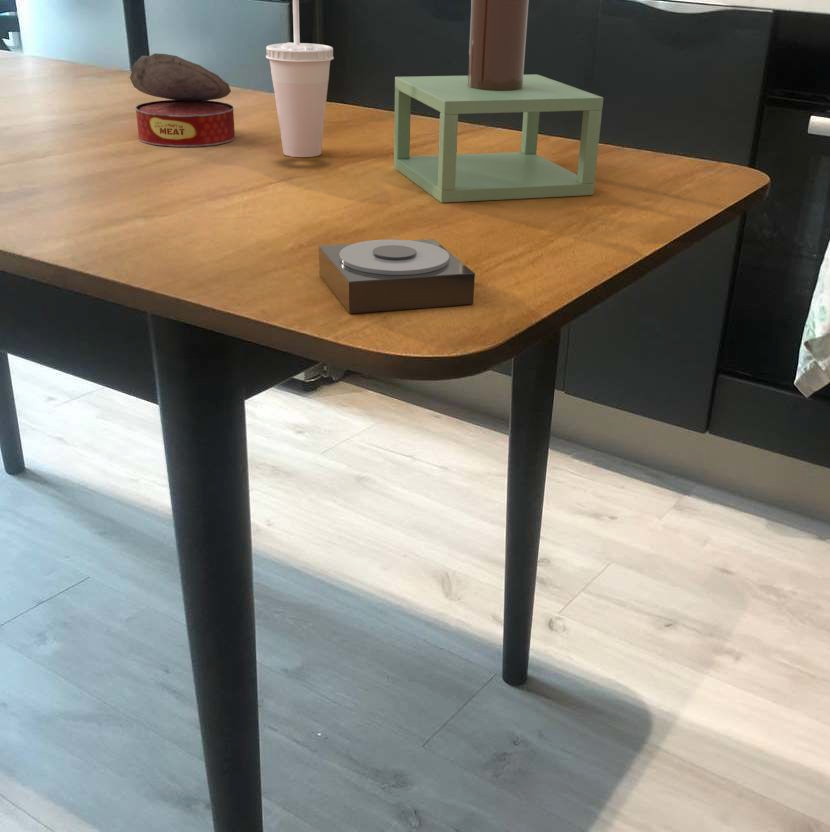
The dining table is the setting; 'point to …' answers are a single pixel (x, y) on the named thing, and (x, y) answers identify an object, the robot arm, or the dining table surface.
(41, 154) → the dining table surface
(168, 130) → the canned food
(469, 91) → the stand
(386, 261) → the stove
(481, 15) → the spice bottle
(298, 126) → the smoothie
